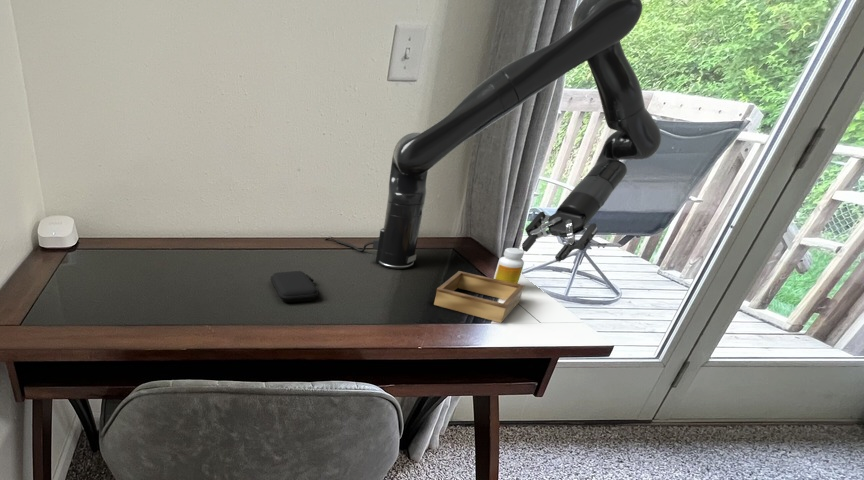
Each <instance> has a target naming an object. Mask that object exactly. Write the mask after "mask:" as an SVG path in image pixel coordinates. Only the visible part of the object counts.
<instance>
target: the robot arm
mask: <svg viewBox="0 0 864 480" xmlns="http://www.w3.org/2000/svg"><path fill="white" fill-rule="evenodd" d="M642 12H643V2H642V0H582V1H581V2H580V3H578V6H577V7H576V8H575V11H574V13H573V15H572V18H571V24H570V25H571V28H570V31H568V32H566V34H564V35H563V36H561V37H560V38H558V39H557V40H555V41H553V42H551V43H550V44H548V45H546V46H544V47H541V48H539V49H537V50H534V51H532V52H530V53H528V54H525V55H523V56H520V57H519V58H517V59H515V60H513V61H511V62H509V63H507V64H506V65H504V66H503V67H500V69H498V70H497V71H495V72H494V73H492V74H491V75H490V76H489V77H487V78H485V80H483V81H482V82H480V83H479V84H478V85H477V86H475V88H474V89H472V90H471V91H470V92H469V93H468V94H467V95H466V96H465V97H464V98H463V99H462V100H461V102H459V103H458V105H456V106H455V108H454V109H452V111H451V112H450V113H449V114H448V115H446V116H445V117H444V118H442V119H440V120H439V121H438V122H437V123H434V125H432V126H430V127H429V128H427V129H425V130H424V131H422V132H410V133H406V134H405V135H403V136H402V137H401V138H400V139H399V140H398V141H397V142H396V144H395V146H394V149H393V151H392V158H391V165H390V172H389V180H388V195H387V203H386V210H385V216H384V223H383V227H382V228H381V229H379V236H378V237H377V238H375V239H373V241H368V242H367V243H365V244H364V245H363V246H362V248H358V247H357V246H355V245H353V244H351V243H348V242H344V241H341V240H339V239H337V240H334V239H336V238H335V237H333V236H330V237H331V238H334V239H330V238H327V237H325V238H324V239H323V240H324V241H328V240H333V241H334V242H335V243H337V244H341V245H344V246H347V247H349V248H353V249H354V250H356V251H357V252H361V253H362V252H365V250H366V248H367V247H368V246H369V245H370V246H371V245H372V249H373V250H376V257H375V264H379V265H380V266H382V267H385V268H388V269H393V270H394V269H395V270H405V269H410V268H412V267H413V266H414V263H415V261H416V260H417V254H416V250H417V244H418V240H419V235H420V230H421V229H420V228H421V224H422V218H423V213H424V208H425V202H426V197H427V178H428V172H429V170H430V169H432V168H433V167H434V166H436V164H438V163H439V162H440V161H441V160H442V159H444V158H445V157H446V156H447V155H449V154H450V153H451V152H452V151H453V150H455V149H456V148H458V147H459V146H460V145H461V144H463V143H465V142H466V141H468V140H469V139H471V138H472V137H474V136H476V135H477V134H479V133H480V132H482V131H484V130H485V129H487V128H488V127H490V126H491V125H493V124H494V123H496V122H498V121H499V120H501V119H502V118H504V117H505V116H506V115H508V114H510V113H511V112H513V111H514V110H515V109H517V108H518V107H520V106H521V105H523V104H524V103H525V102H527V101H528V100H529V99H531V98H532V97H534V96H536V95H537V94H538V93H540V92H541V91H543V90H544V89H546V88H547V87H548V86H550V85H551V84H553V83H554V82H556V81H557V80H558V79H560V78H561V77H563V76H564V75H566V74H567V73H569V72H571V71H572V70H574V69H576V68H577V67H578V66H580V65H582V64H584V63H585V62H587V65H588V67H589V69H590V72H591V75H592V78H593V79H594V83H595V86H596V90H597V93H598V95H599V99H600V103H601V108H602V111H603V115H604V119H605V123H606V126H607V127H608V129H610V130H613V131H614V132H612V134H610V135H609V136H608V137H607V139H606V140H605V141H604V144H603V146H602V148H601V151H600V153H599V155H598V157H597V159H596V161H595V164H594V166H593V167H592V168H591V169H590V170H589V172H588V173H586V175H585V177H584V178H583V179H582V180H581V181H580V182H578V184H576V186H575V187H574V188H573V189H572V190H571V192H569V194H568V195H567V197H566V198H564V200H563V201H562V202H561V204H560V205H559V206H558V208H557V209H556V211H555V212H554V213H553V214H551V215H548V214H546V213H545V211H540V212H539V213H537V215H536V216H535V217H534V219H532V220H531V222H530V223H529V224H528V225H527V226H526V227H525V232H526V234H527V237H526V238H525V240H524V241H523V242H522V245H521V249H522V250H523V251H524V252H525V253H527V252H528V251H529V250H530V249H531V248H532V246H533V245H534V244H535V243H536V242H537V240H538V239H540V238H543V237H548V236H550V235H551V236H553V237H559V238H561V239H566V240H567V244H566V243H565V244H564V245H563V246H562V248H561V249H560V250H559V251H558V252H557V254H556V255H555V258H554V259H555V261H556V262H558V263H560V262H562V261H564V260H565V259H567V257H568V256H569V255H570V254H571V253H572V251H574V250H579V251H584V250H585V249H586V248H587V246H588V245H589V244H590V242H591V241H592V239H593V238H594V237H595V236H596V234H597V233H598V227H597V223H594V222H593V223H590V224H588V223H589V222H590V221H591V220H592V219H593V218H594V217H595V216H596V214H597V213H598V212H599V210H600V209H601V208H602V207H603V206H604V205H605V204H606V202H607V201H608V199H609V198H610V196H611V195H612V193H613V192H614V191H615V190H616V189H617V187H618V186H619V185H620V183H621V182H622V181H623V180H624V179H625V177H626V175H627V173H628V166H627V165H626V164H625V163H624V162H623V161H643V160H647V159H650V158H651V157H653V156H654V155H655V154H656V153H657V152H658V151H659V149H660V147H661V144H662V139H663V138H662V132H661V129H660V127H659V125H658V124H657V122H656V121H655V119H654V118H653V116H652V115H651V113H650V112H649V111H648V109H646V106H645V105H646V104H645V101H644V95H643V91H642V86H641V84H640V81H639V78H638V76H637V74H636V72H635V70H634V68H633V66H632V65H631V64H630V62H629V60H628V58H627V56H626V54H625V51H624V49H623V46H622V43H621V41H622V40H623V39H624V38H625V37H626V36H628V35H629V34H630V33H631V32H632V30H633V29H634V28H635V27H636V26H637V24H638V22H639V20H640V18H641V16H642ZM580 232H583V234H582V235H581V237H580V238H579V239H578V241H576V234H578V233H580Z"/></svg>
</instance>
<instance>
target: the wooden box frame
mask: <svg viewBox="0 0 864 480" xmlns="http://www.w3.org/2000/svg"><path fill="white" fill-rule="evenodd" d="M493 278H494V277H493ZM493 278H492V277H488V276H483V275H479V274H476V273H475V274H474V273H470V272H467V271H466V272H465V271H461V270H458V271H457V272H455V274H453V275H452V276H451V277H449V278H448V279H447V280H445V282H443V283H442V284H441V285H439V286H438V287H437V288H436V293H435V298H434V302H433V305H434V306H437V307H440V308H444V309H448V310H451V311H456V312H459V313H463V314H466V315H469V316H473V317H477V318H481V319H485V320H487V321H492V322H496V323H499V324H502V322H503V321H504V320H505V318H507V317H508V315H510V313H511V312H512V311H513V310H514V309H515V307H516V306H517V305H518V304H519V303H520V301H521V298H522V295H523V292H524V290H525V288H526V285H523V284H520V283H518V284H515V283H511V282H506V281H502V280H497V279H493ZM458 289H460V290H465V291H467V292H471V293H476V294H479V295H480V294H481V295H484V296H489V297H492V298H496V299H500V300H505V301H504V302H499V301H496V300H491V299H487V298H482V297H479V296H475V295H471V294H467V293H463V292H459V291H456V290H458Z"/></svg>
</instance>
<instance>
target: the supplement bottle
mask: <svg viewBox="0 0 864 480" xmlns="http://www.w3.org/2000/svg"><path fill="white" fill-rule="evenodd" d="M524 254H525V251H523V249H522V248H517V247H507V248H505V249H504V252H503V256H501V257H500V258H499V259H498V262H497V265H496V268H495V272H494V275H493V279H497V280H502V281H506V282H511V283H515V284H519V281H520V277H521V274H522V272H523V269H524V265H525V261H524V260H523V257H524Z"/></svg>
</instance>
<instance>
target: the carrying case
mask: <svg viewBox="0 0 864 480" xmlns="http://www.w3.org/2000/svg"><path fill="white" fill-rule="evenodd" d="M270 282H271V284H272V286H273V288H274V290H275V292H276V294H277V296H278V297H279V299H280V300H281V301H282V302H284V303H296V302H297V303H298V302H307V301H314V300H316V298H318V296H319V290H318V288H317V286H316V285H315V284H314V283H313V282H314V278H313V277H312V276H310V275H309V274H306V273H305V272H304V271H302V270H292V271H279V272H278V271H277V272H274V273H273V274H272V275H271V276H270Z"/></svg>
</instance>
